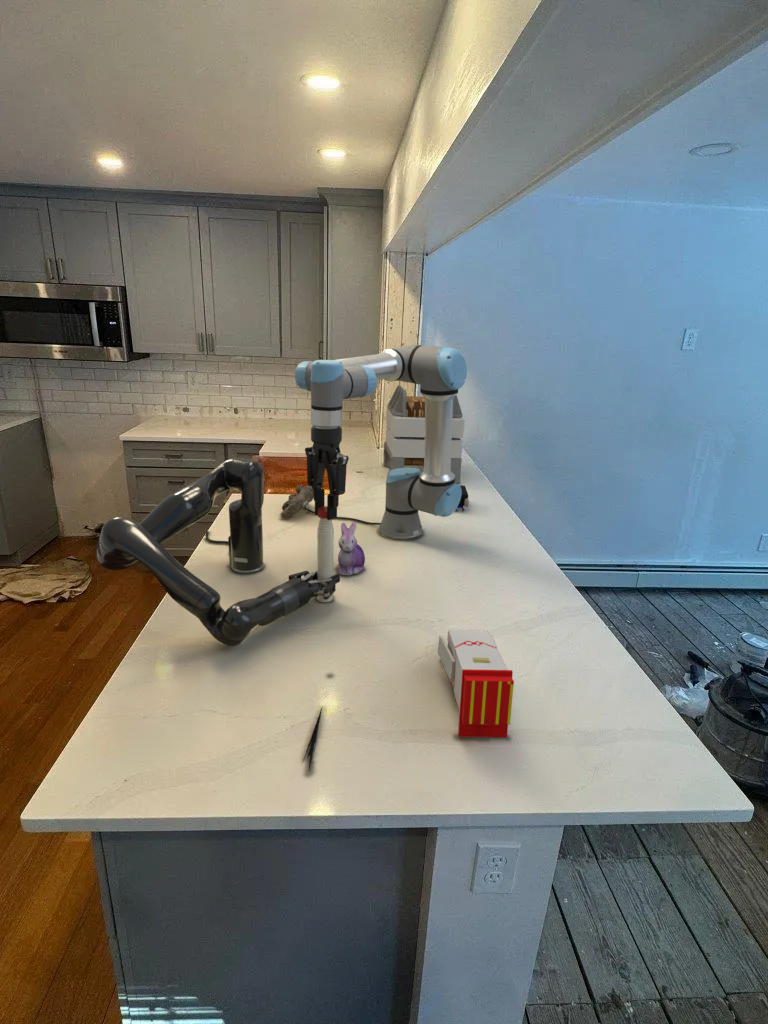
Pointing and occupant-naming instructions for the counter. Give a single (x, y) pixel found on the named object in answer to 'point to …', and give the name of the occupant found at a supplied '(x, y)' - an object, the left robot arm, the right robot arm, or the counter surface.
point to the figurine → (350, 552)
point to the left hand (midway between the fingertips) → (331, 574)
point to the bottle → (325, 552)
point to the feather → (313, 740)
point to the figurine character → (463, 498)
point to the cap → (322, 512)
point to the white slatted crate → (416, 432)
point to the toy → (478, 682)
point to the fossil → (297, 502)
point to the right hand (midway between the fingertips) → (325, 516)
